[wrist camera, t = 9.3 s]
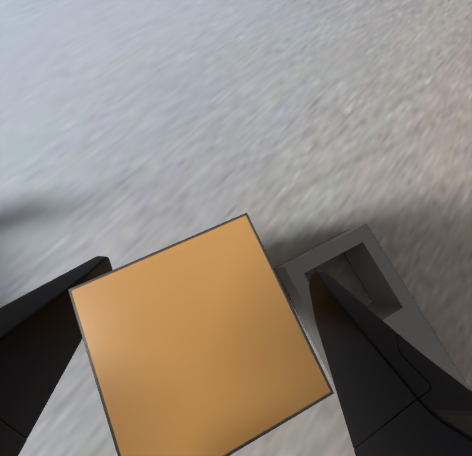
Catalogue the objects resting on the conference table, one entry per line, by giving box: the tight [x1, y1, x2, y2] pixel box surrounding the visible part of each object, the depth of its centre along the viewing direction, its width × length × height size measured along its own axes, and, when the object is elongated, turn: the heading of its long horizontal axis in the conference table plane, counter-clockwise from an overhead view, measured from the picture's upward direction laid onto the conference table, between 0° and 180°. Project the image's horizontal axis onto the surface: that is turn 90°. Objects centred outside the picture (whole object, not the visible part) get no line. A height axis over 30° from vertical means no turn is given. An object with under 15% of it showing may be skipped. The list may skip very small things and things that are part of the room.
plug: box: [68, 213, 334, 456], centre depth 11 cm, size 4×4×13 cm
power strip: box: [274, 224, 470, 390], centre depth 15 cm, size 24×7×3 cm, turn 26°
